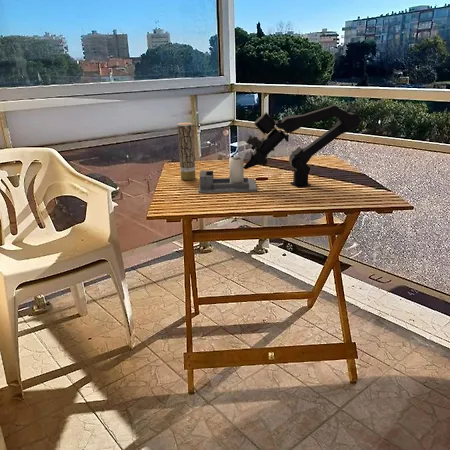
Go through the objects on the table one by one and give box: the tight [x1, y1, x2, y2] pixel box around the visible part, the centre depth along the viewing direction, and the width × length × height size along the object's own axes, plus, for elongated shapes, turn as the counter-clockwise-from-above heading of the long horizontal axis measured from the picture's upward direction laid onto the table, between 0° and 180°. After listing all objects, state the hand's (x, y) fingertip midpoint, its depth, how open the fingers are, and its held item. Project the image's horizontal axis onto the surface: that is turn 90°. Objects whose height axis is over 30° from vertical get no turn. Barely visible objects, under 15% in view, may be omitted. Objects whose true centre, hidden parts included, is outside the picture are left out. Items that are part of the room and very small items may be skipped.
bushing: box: [228, 156, 245, 183], centre depth 168 cm, size 6×6×11 cm
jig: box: [198, 170, 258, 194], centre depth 170 cm, size 24×16×6 cm, turn 91°
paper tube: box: [176, 122, 197, 181], centre depth 179 cm, size 7×7×25 cm
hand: (244, 168), depth 168 cm, fingers closed, pressing on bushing
